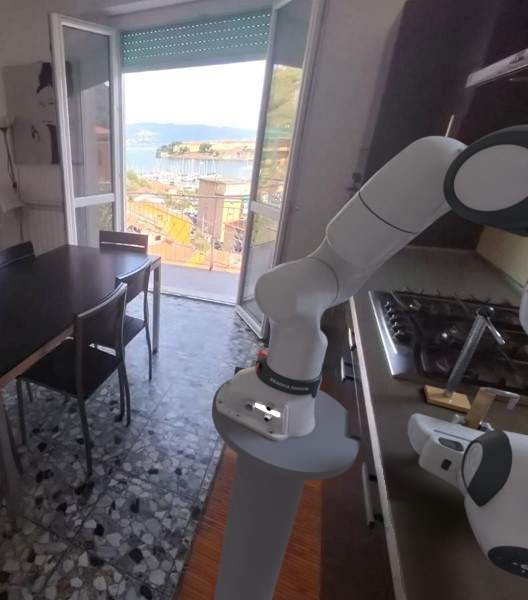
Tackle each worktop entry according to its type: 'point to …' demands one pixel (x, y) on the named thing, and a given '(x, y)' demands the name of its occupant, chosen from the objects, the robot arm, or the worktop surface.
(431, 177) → the robot arm
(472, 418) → the wooden post on base
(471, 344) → the wood and metal stand
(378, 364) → the worktop surface
